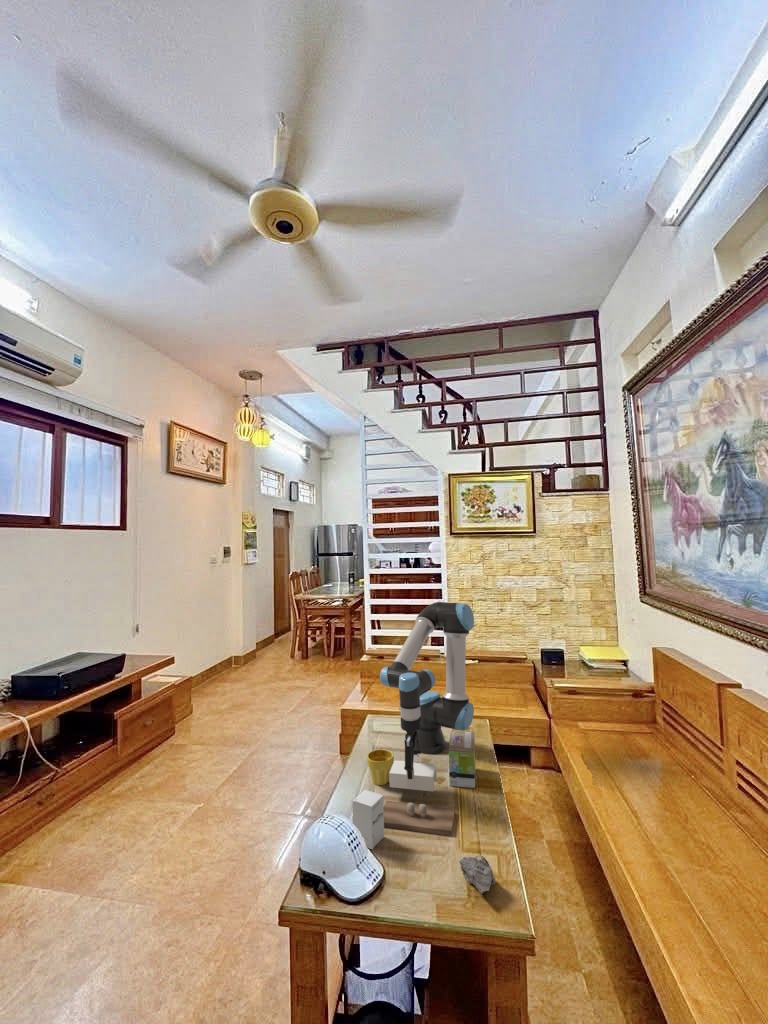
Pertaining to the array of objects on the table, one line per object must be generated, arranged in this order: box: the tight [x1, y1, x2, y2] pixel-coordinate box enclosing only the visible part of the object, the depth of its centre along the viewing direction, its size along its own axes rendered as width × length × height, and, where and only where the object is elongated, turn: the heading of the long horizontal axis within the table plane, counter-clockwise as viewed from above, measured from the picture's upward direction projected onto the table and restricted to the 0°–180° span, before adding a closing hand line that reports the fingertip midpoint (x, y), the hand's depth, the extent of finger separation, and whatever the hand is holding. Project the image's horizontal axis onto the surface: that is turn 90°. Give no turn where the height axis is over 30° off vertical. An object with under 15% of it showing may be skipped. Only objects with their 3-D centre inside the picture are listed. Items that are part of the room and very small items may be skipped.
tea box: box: [448, 730, 476, 789], centre depth 172 cm, size 15×10×15 cm, turn 168°
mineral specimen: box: [458, 855, 497, 895], centre depth 117 cm, size 10×8×10 cm
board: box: [384, 800, 456, 837], centre depth 146 cm, size 12×24×4 cm, turn 76°
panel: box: [389, 759, 438, 792], centre depth 161 cm, size 9×16×5 cm, turn 76°
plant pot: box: [366, 748, 395, 786], centre depth 171 cm, size 10×10×10 cm
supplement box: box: [351, 789, 385, 850], centre depth 137 cm, size 7×7×13 cm
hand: (413, 779), depth 161 cm, fingers closed on panel, 9 cm apart
